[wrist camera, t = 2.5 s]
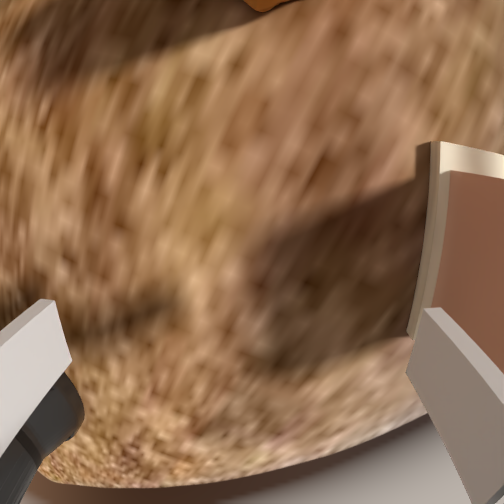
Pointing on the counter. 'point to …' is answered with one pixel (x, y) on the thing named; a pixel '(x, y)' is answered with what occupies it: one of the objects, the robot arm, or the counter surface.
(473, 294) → the salmon pink block
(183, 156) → the counter surface
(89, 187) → the counter surface
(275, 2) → the coffee package
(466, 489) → the robot arm
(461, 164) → the birch board
